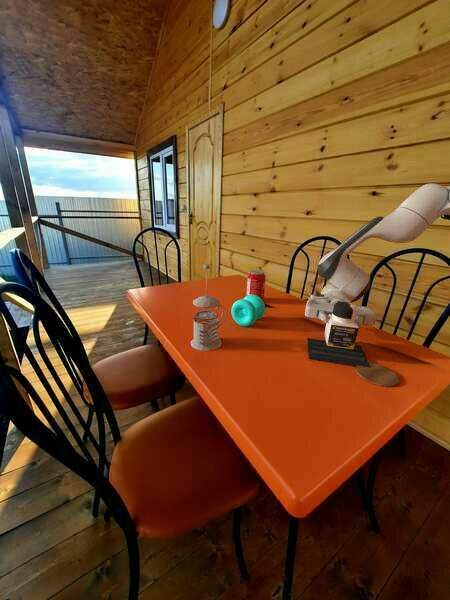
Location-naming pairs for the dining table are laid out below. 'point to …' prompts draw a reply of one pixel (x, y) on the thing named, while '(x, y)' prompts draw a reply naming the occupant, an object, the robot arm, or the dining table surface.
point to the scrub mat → (336, 354)
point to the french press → (206, 338)
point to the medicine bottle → (342, 326)
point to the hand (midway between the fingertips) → (342, 322)
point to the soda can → (256, 283)
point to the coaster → (378, 375)
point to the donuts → (248, 310)
